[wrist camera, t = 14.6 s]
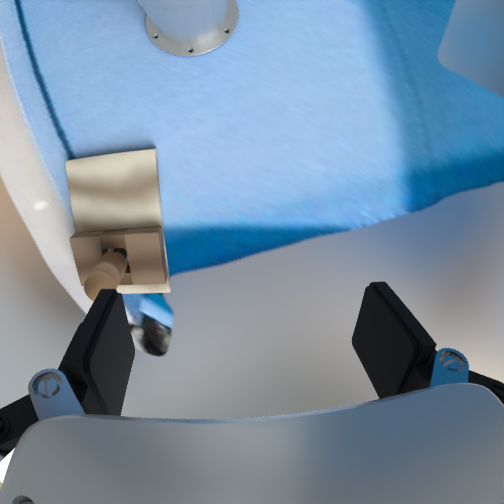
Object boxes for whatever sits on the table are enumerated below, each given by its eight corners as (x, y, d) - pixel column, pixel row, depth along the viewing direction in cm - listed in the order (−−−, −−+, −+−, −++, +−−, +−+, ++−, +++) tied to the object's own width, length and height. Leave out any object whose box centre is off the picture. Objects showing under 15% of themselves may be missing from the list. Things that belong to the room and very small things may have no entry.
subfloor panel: (68, 160, 38) (57, 164, 34) (156, 148, 39) (151, 151, 35) (93, 290, 47) (86, 302, 43) (171, 288, 48) (168, 301, 45)
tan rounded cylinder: (106, 242, 42) (80, 275, 33) (130, 240, 43) (109, 275, 33) (111, 266, 44) (88, 303, 34) (134, 265, 44) (116, 303, 35)
